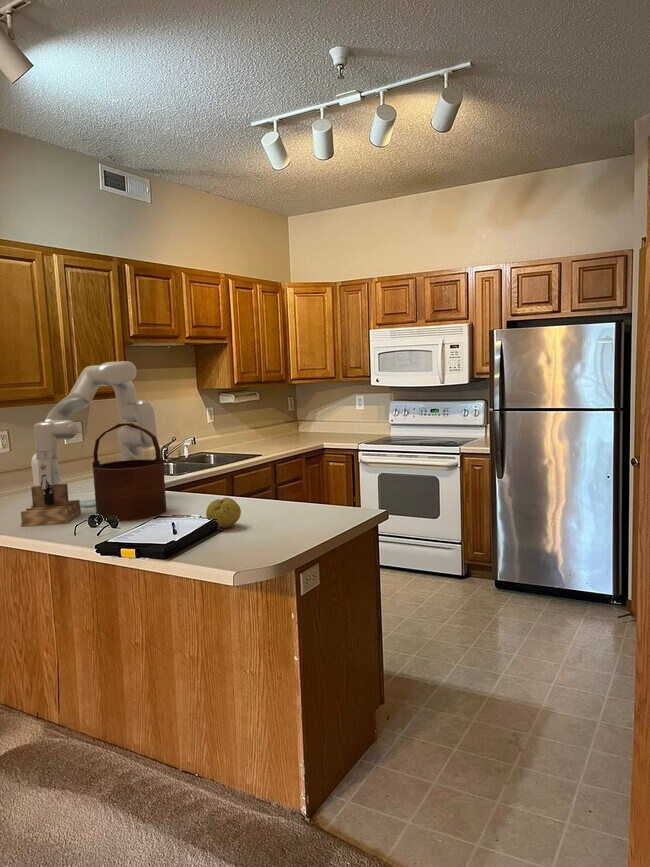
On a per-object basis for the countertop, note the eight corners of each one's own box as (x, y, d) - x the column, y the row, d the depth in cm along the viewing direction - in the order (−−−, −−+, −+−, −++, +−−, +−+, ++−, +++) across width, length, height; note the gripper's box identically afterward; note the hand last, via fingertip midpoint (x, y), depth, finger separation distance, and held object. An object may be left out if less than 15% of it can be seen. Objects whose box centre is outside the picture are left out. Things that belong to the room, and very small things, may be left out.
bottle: (44, 504, 260) (40, 434, 257) (28, 503, 263) (25, 433, 260) (57, 500, 268) (54, 432, 265) (42, 499, 270) (39, 431, 267)
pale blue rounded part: (109, 501, 263) (109, 498, 263) (102, 507, 251) (102, 504, 251) (80, 503, 261) (80, 500, 261) (72, 509, 250) (71, 506, 249)
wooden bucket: (106, 508, 248) (100, 422, 245) (171, 504, 251) (166, 419, 247) (88, 523, 223) (80, 427, 219) (160, 519, 225) (154, 424, 221)
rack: (81, 512, 241) (80, 499, 241) (67, 523, 223) (66, 509, 223) (38, 515, 240) (37, 502, 239) (21, 526, 222) (20, 512, 221)
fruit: (222, 522, 217) (220, 494, 216) (248, 525, 211) (247, 496, 210) (200, 529, 207) (199, 500, 206) (228, 533, 201) (226, 503, 200)
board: (69, 509, 233) (67, 483, 232) (66, 511, 230) (64, 485, 229) (36, 511, 232) (34, 485, 231) (33, 513, 229) (31, 487, 228)
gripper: (50, 457, 221) (54, 507, 223) (64, 451, 238) (68, 498, 239) (28, 458, 221) (33, 508, 222) (44, 452, 237) (48, 499, 239)
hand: (51, 503), depth 231 cm, fingers closed on board, 3 cm apart
